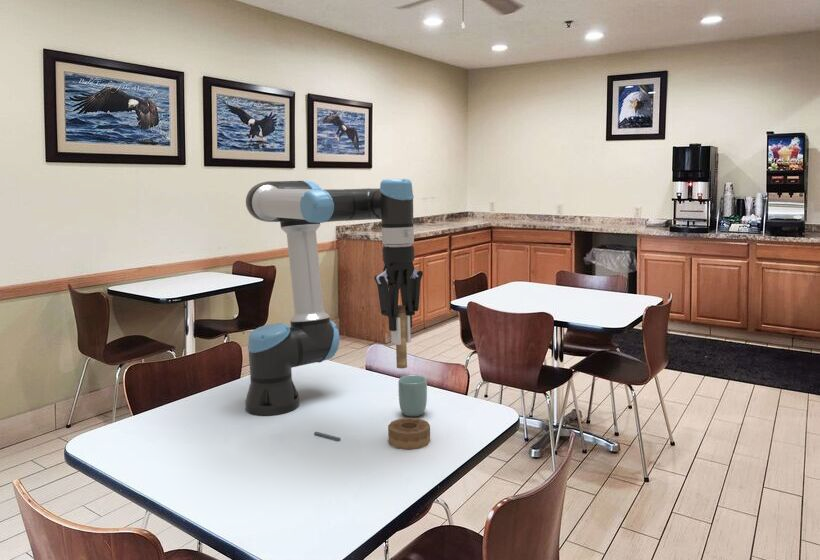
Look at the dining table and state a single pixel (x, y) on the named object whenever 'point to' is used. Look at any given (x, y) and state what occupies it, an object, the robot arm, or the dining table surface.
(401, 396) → the cup
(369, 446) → the dining table surface
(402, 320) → the wooden rod
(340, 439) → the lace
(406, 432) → the bead
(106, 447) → the dining table surface
